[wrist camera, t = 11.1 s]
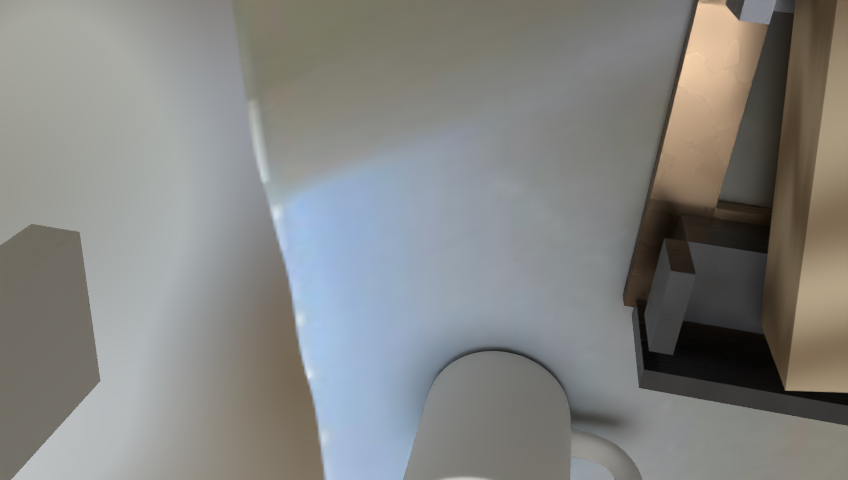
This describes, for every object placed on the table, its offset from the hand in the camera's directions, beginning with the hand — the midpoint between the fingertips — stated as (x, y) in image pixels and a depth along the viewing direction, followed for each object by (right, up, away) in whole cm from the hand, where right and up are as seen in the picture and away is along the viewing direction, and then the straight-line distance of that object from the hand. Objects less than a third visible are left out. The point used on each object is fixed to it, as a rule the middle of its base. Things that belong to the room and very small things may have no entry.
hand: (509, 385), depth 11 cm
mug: (+5, -8, +34) cm, 35 cm away
